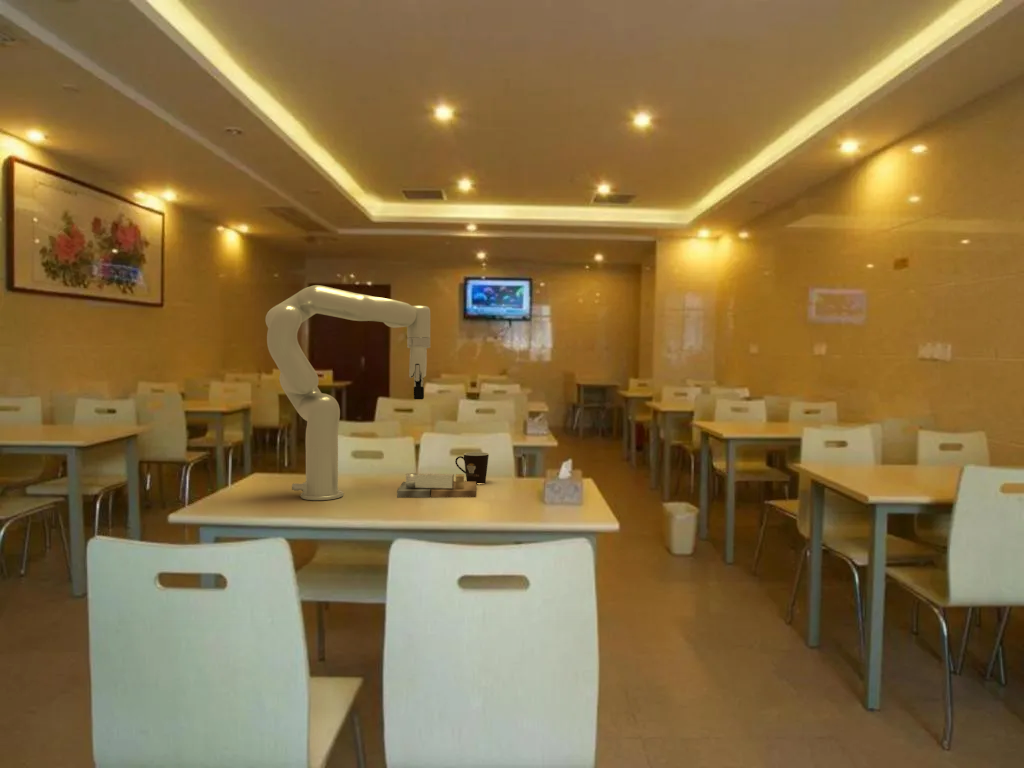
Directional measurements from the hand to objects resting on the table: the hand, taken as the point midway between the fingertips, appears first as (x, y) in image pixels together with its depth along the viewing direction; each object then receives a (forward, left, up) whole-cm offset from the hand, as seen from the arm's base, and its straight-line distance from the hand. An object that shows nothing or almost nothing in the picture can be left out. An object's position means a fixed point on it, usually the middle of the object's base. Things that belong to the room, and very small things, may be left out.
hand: (418, 399), depth 227 cm
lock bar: (+5, -14, -27) cm, 30 cm away
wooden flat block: (+7, -9, -29) cm, 31 cm away
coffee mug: (+18, +8, -29) cm, 35 cm away
